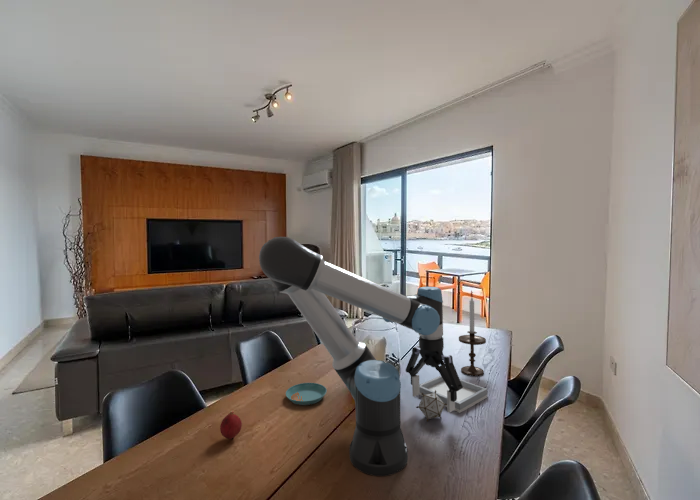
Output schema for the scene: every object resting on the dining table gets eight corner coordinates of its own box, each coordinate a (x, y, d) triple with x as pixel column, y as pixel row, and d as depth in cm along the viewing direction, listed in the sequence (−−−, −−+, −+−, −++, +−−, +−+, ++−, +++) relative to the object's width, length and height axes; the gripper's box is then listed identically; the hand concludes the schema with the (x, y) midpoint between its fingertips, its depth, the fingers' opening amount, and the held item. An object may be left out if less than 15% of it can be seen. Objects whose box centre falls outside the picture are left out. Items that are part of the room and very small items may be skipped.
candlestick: (481, 379, 135) (481, 292, 134) (455, 373, 142) (454, 290, 141) (489, 370, 144) (488, 289, 143) (463, 365, 150) (463, 287, 149)
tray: (460, 412, 109) (459, 403, 109) (416, 393, 123) (416, 385, 123) (487, 397, 120) (487, 388, 120) (444, 381, 134) (444, 373, 134)
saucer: (277, 399, 121) (277, 392, 121) (309, 386, 132) (308, 379, 132) (303, 413, 111) (303, 405, 111) (335, 397, 122) (335, 390, 122)
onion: (229, 447, 93) (228, 418, 93) (216, 441, 96) (215, 413, 96) (246, 436, 98) (245, 409, 98) (233, 431, 101) (232, 404, 101)
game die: (437, 432, 105) (448, 416, 99) (411, 420, 107) (420, 404, 101) (441, 407, 112) (451, 391, 106) (416, 396, 114) (425, 379, 108)
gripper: (473, 342, 98) (475, 413, 99) (408, 326, 118) (410, 386, 119) (458, 348, 94) (460, 422, 94) (393, 331, 113) (395, 393, 114)
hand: (432, 402), depth 106 cm, fingers open, 13 cm apart
